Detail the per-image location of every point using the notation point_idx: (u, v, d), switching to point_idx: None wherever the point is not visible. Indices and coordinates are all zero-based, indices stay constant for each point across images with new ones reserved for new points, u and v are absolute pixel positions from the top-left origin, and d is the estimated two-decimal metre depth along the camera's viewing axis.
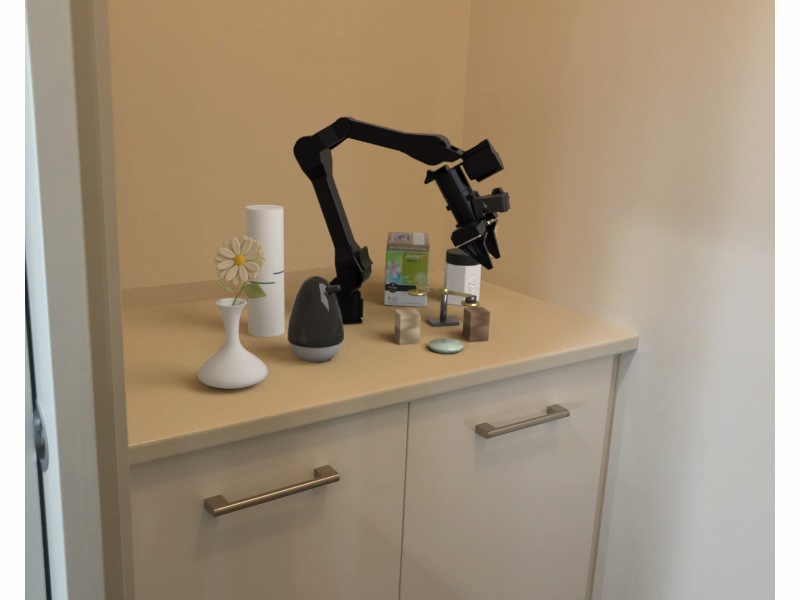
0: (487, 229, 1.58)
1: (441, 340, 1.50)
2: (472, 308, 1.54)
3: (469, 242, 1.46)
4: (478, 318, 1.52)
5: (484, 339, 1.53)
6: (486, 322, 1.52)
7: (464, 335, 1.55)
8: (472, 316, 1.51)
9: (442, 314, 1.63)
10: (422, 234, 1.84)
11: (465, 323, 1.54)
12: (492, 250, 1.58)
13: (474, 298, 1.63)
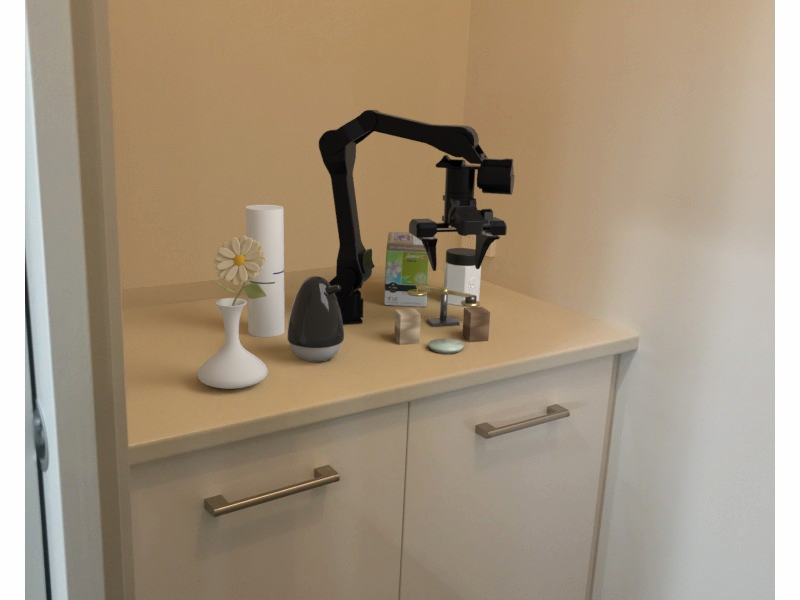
0: (482, 239, 1.54)
1: (441, 340, 1.50)
2: (472, 308, 1.54)
3: (418, 236, 1.52)
4: (478, 318, 1.52)
5: (484, 339, 1.53)
6: (486, 322, 1.52)
7: (464, 335, 1.55)
8: (472, 316, 1.51)
9: (442, 314, 1.63)
10: None
11: (465, 323, 1.54)
12: (476, 258, 1.56)
13: (474, 298, 1.63)
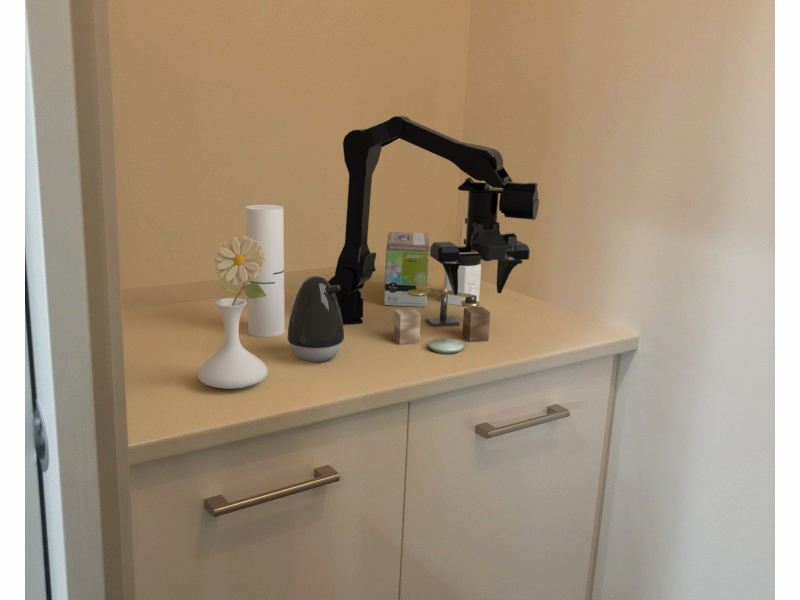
0: (504, 262, 1.52)
1: (441, 340, 1.50)
2: (472, 308, 1.54)
3: None
4: (478, 318, 1.52)
5: (484, 339, 1.53)
6: (486, 322, 1.52)
7: (464, 335, 1.55)
8: (472, 316, 1.51)
9: (442, 314, 1.63)
10: (422, 234, 1.84)
11: (465, 323, 1.54)
12: (498, 282, 1.53)
13: (474, 298, 1.63)
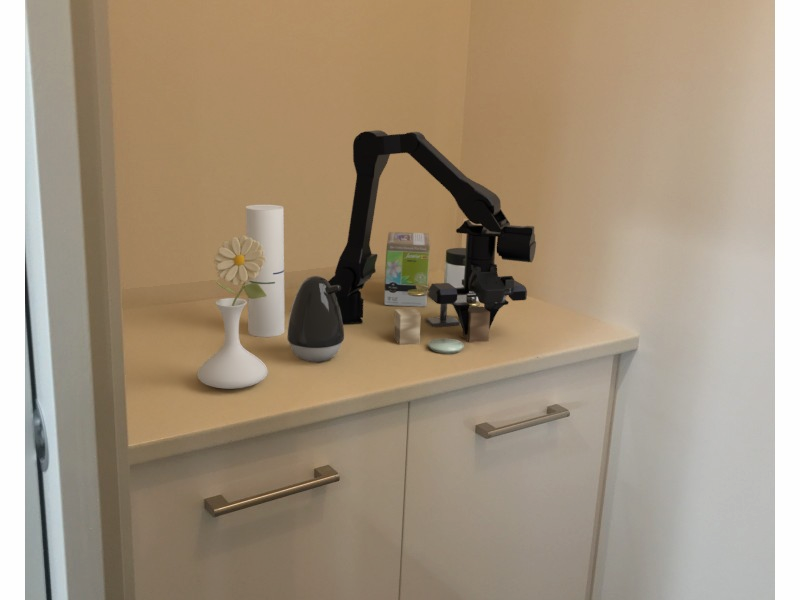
0: (490, 303, 1.53)
1: (441, 340, 1.50)
2: (472, 308, 1.54)
3: None
4: (478, 318, 1.52)
5: (484, 339, 1.53)
6: (486, 322, 1.52)
7: (464, 335, 1.55)
8: (472, 316, 1.51)
9: (442, 314, 1.63)
10: (422, 234, 1.84)
11: None
12: None
13: (474, 298, 1.63)
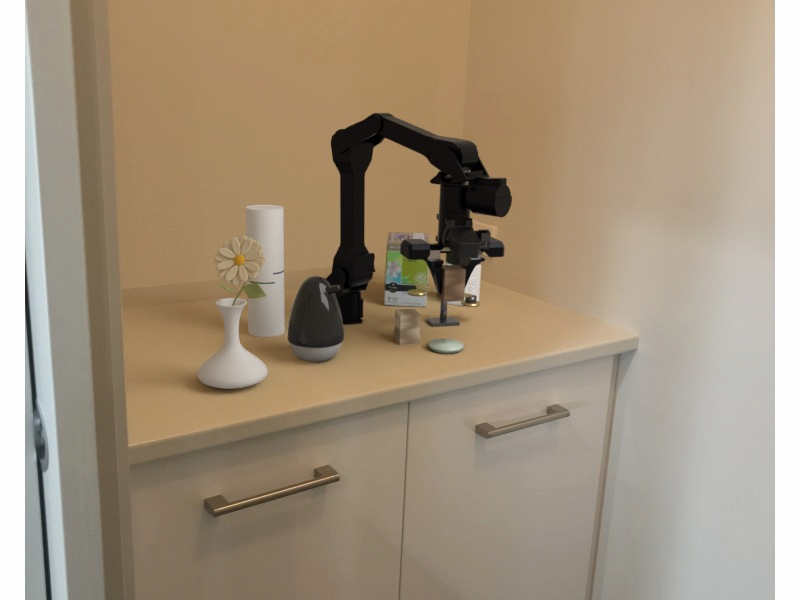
0: (466, 260, 1.44)
1: (441, 340, 1.50)
2: (447, 266, 1.45)
3: None
4: (453, 276, 1.43)
5: (459, 298, 1.44)
6: (461, 280, 1.43)
7: (438, 295, 1.46)
8: (446, 273, 1.42)
9: (442, 314, 1.63)
10: (422, 234, 1.84)
11: None
12: None
13: (474, 298, 1.63)
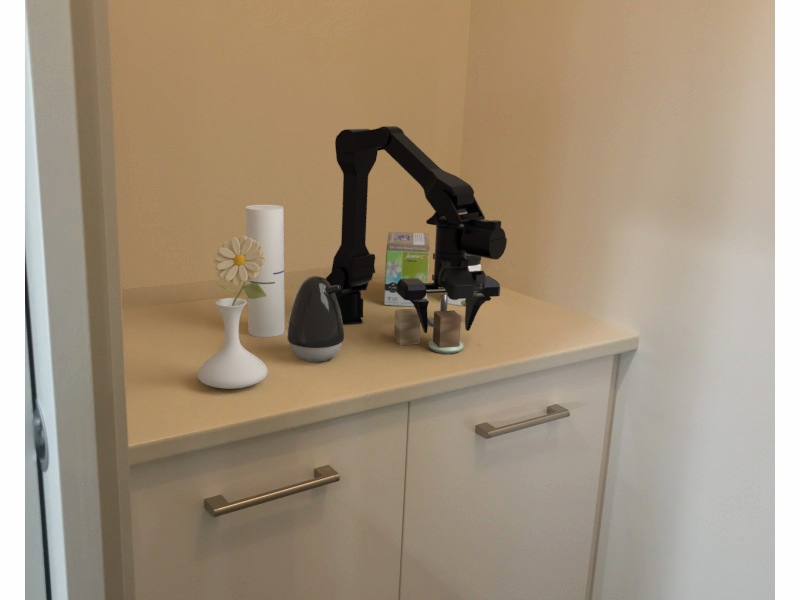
0: (472, 299, 1.46)
1: None
2: (442, 312, 1.47)
3: None
4: (448, 323, 1.45)
5: (455, 344, 1.46)
6: (457, 327, 1.45)
7: (434, 341, 1.48)
8: (442, 320, 1.44)
9: None
10: (422, 234, 1.84)
11: (435, 327, 1.47)
12: (466, 319, 1.48)
13: None
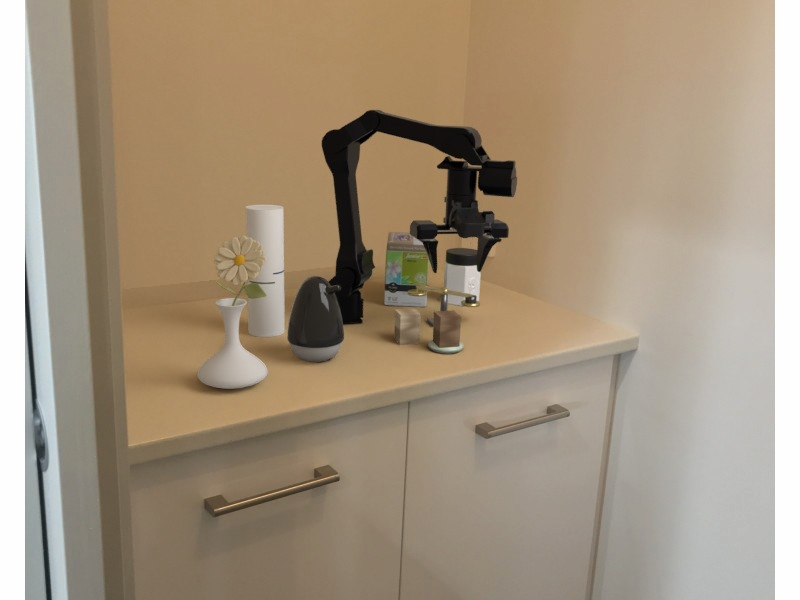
0: (483, 241, 1.53)
1: None
2: (442, 312, 1.47)
3: (419, 238, 1.50)
4: (448, 323, 1.45)
5: (455, 344, 1.46)
6: (457, 327, 1.45)
7: (434, 341, 1.48)
8: (442, 320, 1.44)
9: None
10: None
11: (435, 327, 1.47)
12: (478, 261, 1.55)
13: (474, 298, 1.63)
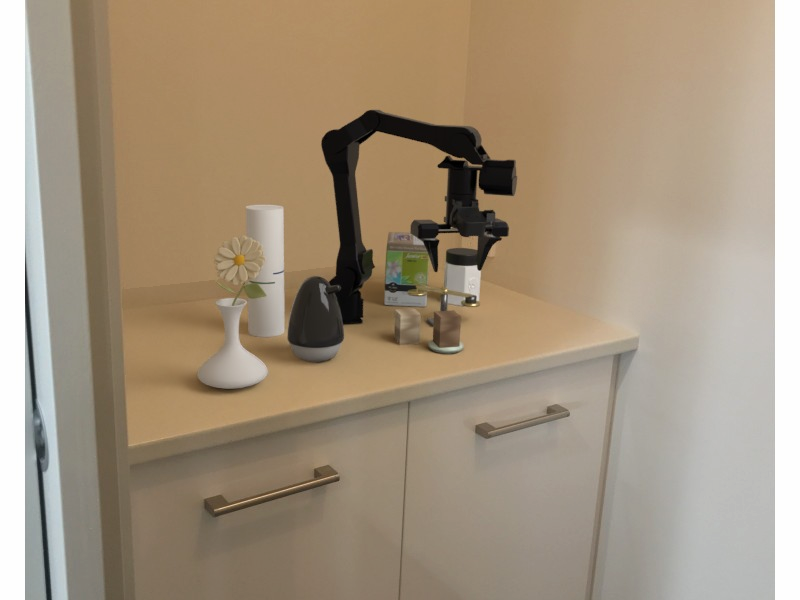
0: (484, 240, 1.53)
1: None
2: (442, 312, 1.47)
3: (420, 237, 1.51)
4: (448, 323, 1.45)
5: (455, 344, 1.46)
6: (457, 327, 1.45)
7: (434, 341, 1.48)
8: (442, 320, 1.44)
9: None
10: None
11: (435, 327, 1.47)
12: (478, 260, 1.55)
13: (474, 298, 1.63)
